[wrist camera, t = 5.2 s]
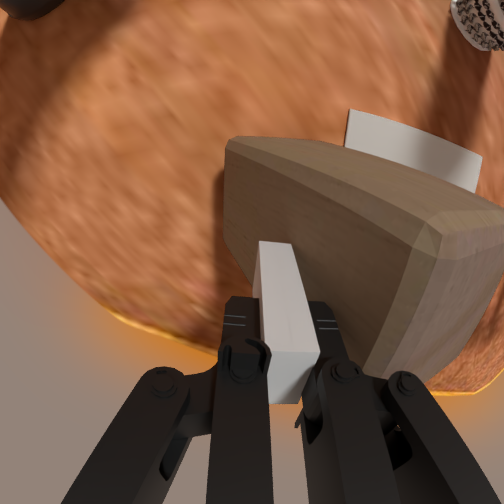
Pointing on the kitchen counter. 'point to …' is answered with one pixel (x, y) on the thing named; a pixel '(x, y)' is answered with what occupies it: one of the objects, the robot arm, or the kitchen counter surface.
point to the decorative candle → (480, 22)
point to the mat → (413, 148)
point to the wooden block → (369, 246)
